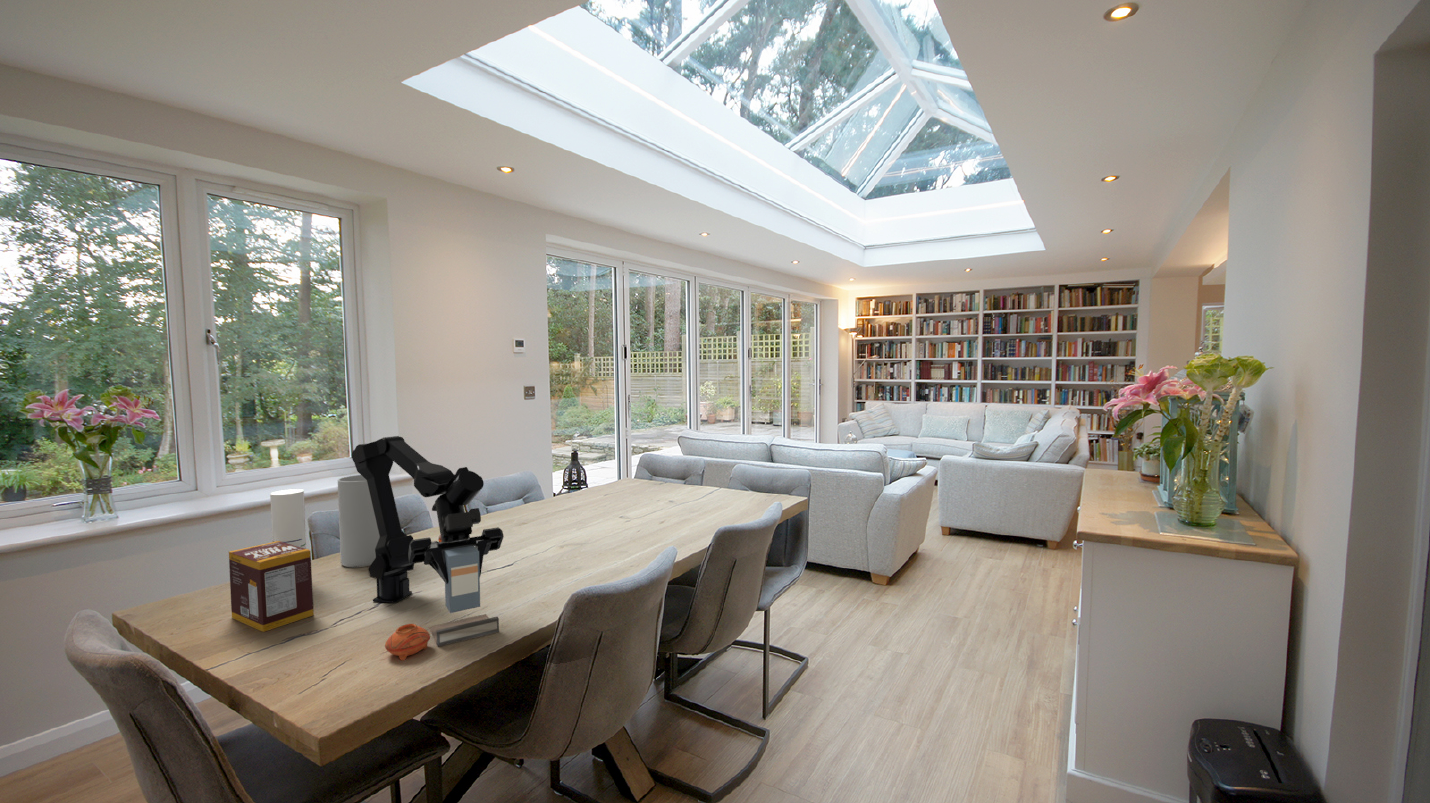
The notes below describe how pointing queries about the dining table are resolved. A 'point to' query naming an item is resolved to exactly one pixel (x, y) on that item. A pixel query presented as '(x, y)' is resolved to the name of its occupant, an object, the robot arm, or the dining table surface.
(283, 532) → the cylindrical container
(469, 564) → the blue-grey carton
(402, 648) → the pot
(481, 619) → the plate
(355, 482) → the cylinder vase
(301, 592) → the supplement box
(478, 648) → the dining table surface
